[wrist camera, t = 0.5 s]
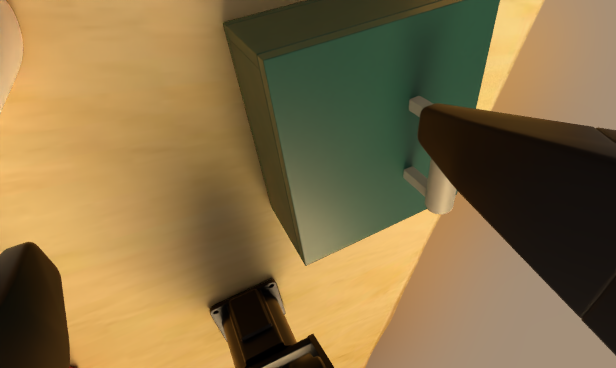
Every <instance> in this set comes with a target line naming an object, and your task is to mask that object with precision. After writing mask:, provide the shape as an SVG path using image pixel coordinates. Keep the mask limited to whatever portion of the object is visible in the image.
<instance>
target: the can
mask: <svg viewBox="0 0 616 368" xmlns="http://www.w3.org/2000/svg"><path fill="white" fill-rule="evenodd" d="M22 58H23V38H22V33H21V30H20V26H19V23H18V21H17V18H16V16H15V14H14V12H13V10H12V8H11V7H10V5H9V4H8V2H7V1H6V0H0V113H1V111H2V109H3V106H4V104H5V102H6V99H7V97H8V95H9V93H10V90H11V88H12V86H13V83H14V81H15V79H16V76H17V74H18V71H19V69H20V66H21V62H22Z"/></svg>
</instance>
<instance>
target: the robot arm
mask: <svg viewBox="0 0 616 368" xmlns="http://www.w3.org/2000/svg"><path fill="white" fill-rule="evenodd" d="M417 137H418V141H419V143H420V145H421V146H422V147H423V149H424V150H425V151H426V152H427V154H428V155H429V156H430V158H431V159H432V160H433V161H434V163H435V164H436V165H437V167H438V168H439V169H440V170H441V172H442V173H443V174H444V175H445V177H446V178H447V179H448V180H449V182H450V183H451V184H452V185H453V186H454V187H455V189H456V190H457V191H458V192H459V193H460V194H461V195H462V196H463V197H464V198H465V199H466V200H467V201H468V202H469V203H470V204H471V205H472V206H473V207H474V208H475V209H476V210H477V211H478V212H479V214H481V216H482V217H483V218H484V219H485V220H486V221H487V222H488V223H489V224H490V225H491V226H492V227H493V228H494V229H495V230H496V231H497V232H498V233H499V234H500V235H501V236H502V237H503V238H504V239H505V240H506V242H507V243H508V244H509V245H510V246H511V247H512V248H513V249H514V250H515V251H516V252H517V253H518V254H519V255H520V256H521V257H522V258H523V259H524V260H525V261H526V262H527V263H528V264H529V265H530V266H531V267H532V269H533V270H534V271H535V272H536V273H537V274H538V275H539V276H540V277H541V278H542V279H543V280H544V281H545V282H546V283H547V284H548V285H549V286H550V287H551V288H552V289H553V290H554V291H555V292H556V293H557V294H558V296H559V297H560V298H561V299H562V300H563V301H564V302H565V303H566V304H567V305H568V306H569V307H570V308H571V309H572V310H573V311H574V312H575V313H576V314H577V315H578V316H579V317H580V318H582V321H583V322H584V323H585V324H586V325H587V326H588V327H589V328H590V329H591V330H592V331H593V332H594V333H595V334H596V335H597V336H598V337H599V338H600V340H602V342H604V344H605V345H606V346H607V347H608V348H609V349H610V350H611V351H612V352H613V353H614V354H615V355H616V130H610V129H604V128H596V129H595V128H594V127H590V126H584V125H577V124H570V123H564V122H558V121H551V120H545V119H538V118H531V117H525V116H518V115H512V114H506V113H499V112H493V111H486V110H480V109H473V108H467V107H460V106H454V105H447V104H441V103H435V104H432V105H429V106H426V107H424V108H423V109H422V110H421V112H420V118H419V126H418V133H417ZM210 314H211V316H212V318H213V319H214V321H215V323H216V324H217V326H218V328H219V329H220V331H221V333H222V334H223V336H224V338H225V339H226V341H227V342H228V345H229V348H230V352H231V355H232V358H233V362H234V365H235V368H334V366H333V365H332V363H331V362H330V360H329V358H328V357H327V355H326V354H325V352H324V350H323V349H322V347H321V346H320V344H319V342H318V341H317V339H316V338H315V336H314V334H311V335H309V336H308V337H307V338H305V339H303V340H301V341H299V342H296V340H295V338H294V335H293V333H292V331H291V329H290V327H289V325H288V322H287V320H286V318H285V316H284V315H285V309H284V306H283V303H282V300H281V297H280V294H279V291H278V287H277V284H276V282H275V280H274V279H270V280H268V281H265V282H263V283H261V284H259V285H257V286H255V287H253V288H251V289H248V290H246V291H244V292H242V293H240V294H238V295H236V296H233V297H231V298H229V299H227V300H225V301H223V302H221V303H219V304H216V305H214V306H212V307H211V308H210ZM0 368H70V347H69V336H68V328H67V320H66V313H65V305H64V297H63V289H62V281H61V276H60V273H59V271H58V269H57V267H56V266H55V265H54V264H53V263H52V261H51V260H50V259H49V258H48V257H47V256H46V255H45V254H44V252H43V251H42V250H41V249H40V248H39V247H38V246H37V245H36V244H34V243H33V242H25V243H23V244H20V245H17V246H14V247H11V248H8V249H6V250H4V251H3V252H2V253H1V254H0Z"/></svg>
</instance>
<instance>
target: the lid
mask: <svg viewBox="0 0 616 368" xmlns="http://www.w3.org/2000/svg"><path fill="white" fill-rule="evenodd" d="M499 2H500V0H442V1H439V2H436V3H432V4H429V5H425V6H422V7H419V8H415V9H412V10H408V11H405V12H402V13H398V14H395V15H391V16H388V17H385V18H381V19H378V20H374V21H371V22H368V23H364V24H361V25H357V26H354V27H351V28H347V29H344V30H340V31H337V32H334V33H330V34H327V35H323V36H320V37H317V38H313V39H310V40H306V41H303V42H300V43H296V44H293V45H289V46H286V47H283V48H279V49H276V50H272V51H269V52H266V53H262V54H259V55H258V56H257V57H258V61H259V66H260V71H261V75H262V80H263V85H264V89H265V94H266V98H267V103H268V108H269V112H270V117H271V122H272V126H273V131H274V135H275V140H276V145H277V149H278V154H279V159H280V163H281V168H282V172H283V177H284V182H285V186H286V191H287V196H288V200H289V205H290V209H291V214H292V219H293V223H294V228H295V233H296V237H297V242H298V246H299V251H300V256H301V259H302V261H303V262H304V264H305V266H307V265H309V264H311V263H313V262H315V261H317V260H320V259H322V258H324V257H326V256H328V255H330V254H332V253H334V252H337V251H339V250H341V249H343V248H345V247H347V246H349V245H351V244H353V243H356V242H358V241H360V240H362V239H364V238H366V237H368V236H370V235H373V234H375V233H377V232H379V231H381V230H383V229H385V228H387V227H389V226H392V225H394V224H396V223H398V222H400V221H402V220H404V219H406V218H409V217H411V216H413V215H415V214H417V213H419V212H421V211H423V210H426V209H428V210H429V211H430V212H432V213H435V214H446V213H448V212H450V211H451V210H452V208H453V204H454V200H455V195H456V194H457V190H456V189H455V187H454V186H453V185H452V184H451V183H450V182H449V180H448V179H447V178H446V177H445V175H444V174H443V173H442V172H441V170H440V169H439V168H438V167H437V165H436V164H435V163H434V161H433V160H432V159H431V158H430V156H429V155H428V154H427V152H426V151H425V150H424V149H423V147H422V146H421V145H420V143H419V141H418V137H417V133H418V126H419V118H420V112H421V110H422V109H423V108H424V107H426V106H429V105H432V104H435V103H441V104H447V105H454V106H460V107H467V108H473V109H476V105H477V101H478V96H479V92H480V87H481V83H482V78H483V74H484V69H485V65H486V60H487V56H488V51H489V47H490V42H491V38H492V33H493V29H494V24H495V20H496V15H497V11H498V6H499Z"/></svg>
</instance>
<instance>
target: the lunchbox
mask: <svg viewBox="0 0 616 368" xmlns="http://www.w3.org/2000/svg"><path fill="white" fill-rule="evenodd" d="M439 1H442V0H307V1H303V2H299V3H295V4H292V5H288V6H284V7H280V8H276V9H272V10H269V11H265V12H261V13H257V14H253V15H250V16H246V17H242V18H238V19H234V20H231V21H227V22H224V23H223V26H224V30H225V34H226V38H227V41H228V45H229V49H230V53H231V56H232V60H233V64H234V68H235V71H236V75H237V79H238V83H239V87H240V90H241V94H242V98H243V102H244V105H245V109H246V113H247V117H248V120H249V124H250V128H251V132H252V135H253V139H254V143H255V147H256V151H257V154H258V158H259V162H260V166H261V169H262V173H263V177H264V181H265V184H266V188H267V192H268V196H269V199H270V203H271V207H272V209H273V211H274V212H275V214H276V216H277V218H278V219H279V221H280V223H281V224H282V226H283V228H284V230H285V231H286V233H287V235H288V237H289V238H290V240H291V242H292V243H293V245H294V247H295V249H296V250H297V252H298V254H299V255H300V251H299V246H298V242H297V237H296V233H295V228H294V223H293V219H292V214H291V209H290V205H289V200H288V196H287V191H286V186H285V182H284V177H283V172H282V168H281V163H280V159H279V154H278V149H277V145H276V140H275V135H274V131H273V126H272V122H271V117H270V112H269V108H268V103H267V98H266V94H265V89H264V85H263V80H262V75H261V71H260V66H259V61H258V57H257V56H258V55H259V54H262V53H266V52H269V51H272V50H276V49H279V48H283V47H286V46H289V45H293V44H296V43H300V42H303V41H306V40H310V39H313V38H317V37H320V36H323V35H327V34H330V33H334V32H337V31H340V30H344V29H347V28H351V27H354V26H357V25H361V24H364V23H368V22H371V21H374V20H378V19H381V18H385V17H388V16H391V15H395V14H398V13H402V12H405V11H408V10H412V9H415V8H419V7H422V6H425V5H429V4H432V3H436V2H439ZM300 257H301V256H300Z"/></svg>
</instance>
